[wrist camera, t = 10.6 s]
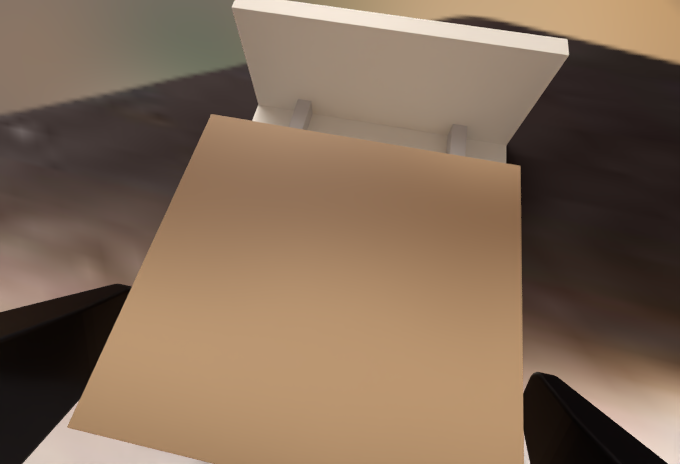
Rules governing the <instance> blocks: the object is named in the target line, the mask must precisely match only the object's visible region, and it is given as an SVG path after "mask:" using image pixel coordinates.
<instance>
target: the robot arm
mask: <svg viewBox="0 0 680 464" xmlns="http://www.w3.org/2000/svg"><path fill="white" fill-rule="evenodd" d="M131 288H132V287H131V286H127V285H122V284H113V285H109V286H105V287H101V288H97V289H92V290H88V291H84V292H80V293H76V294H72V295H68V296H64V297H60V298H56V299H52V300H48V301H44V302H40V303H36V304H32V305H28V306H24V307H20V308H16V309H12V310H8V311H4V312H0V464H22V463H23V462H24V461H25V460H26V459H27V458H28V457H29V456H30V455H31V453H32V452H33V451H34V450H35V449H36V448H37V447H38V446H39V444H40V443H41V442H42V441H43V440H44V439H45V438H46V437H47V435H48V434H49V433H50V432H51V431H52V430H53V429H54V428H55V427H56V425H57V424H58V423H59V422H60V421H61V420H62V419H63V418H64V416H65V415H66V414H67V413H68V412H69V411H70V410H71V409H72V407H73V406H74V405H75V404H76V403H77V402H78V401H79V400H80V398H81V396H82V394H83V392H84V390H85V387H86V385H87V383H88V381H89V379H90V377H91V374H92V372H93V370H94V368H95V366H96V364H97V361H98V359H99V357H100V355H101V353H102V351H103V348H104V346H105V344H106V342H107V340H108V338H109V335H110V333H111V331H112V329H113V327H114V325H115V322H116V320H117V318H118V316H119V314H120V312H121V309H122V307H123V305H124V303H125V301H126V299H127V296H128V294H129V292H130V290H131ZM523 431H524V436H525V440H526V445H527V450H528V455H529V460H530V464H668V463H666V462H665V461H664V460H663V459H661V458H660V457H659V456H657V455H656V454H655V453H654V452H652V451H651V450H650V449H649V448H647V447H646V446H645V445H643V444H642V443H641V442H640V441H638V440H637V439H636V438H635V437H633V436H632V435H631V434H629V433H628V432H627V431H626V430H624V429H623V428H622V427H621V426H619V425H618V424H617V423H615V422H614V421H613V420H612V419H610V418H609V417H608V416H607V415H605V414H604V413H603V412H601V411H600V410H599V409H598V408H596V407H595V406H594V405H593V404H591V403H590V402H589V401H587V400H586V399H585V398H584V397H582V396H581V395H580V394H579V393H577V392H576V391H575V390H573V389H572V388H571V387H570V386H568V385H567V384H566V383H564V382H563V381H562V380H561V379H559V378H558V377H557V376H554V375H550V374H545V373H540V372H535V373H533V374H532V375H531V377H530V379H529V382H528V384H527V386H526V388H525V391H524V393H523Z"/></svg>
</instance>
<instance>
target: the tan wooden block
mask: <svg viewBox="0 0 680 464" xmlns="http://www.w3.org/2000/svg"><path fill="white" fill-rule="evenodd" d="M67 427H68V428H72V429H76V430H80V431H84V432H88V433H92V434H96V435H100V436H104V437H108V438H112V439H116V440H120V441H124V442H128V443H132V444H136V445H140V446H144V447H148V448H152V449H157V450H161V451H165V452H169V453H173V454H177V455H181V456H185V457H189V458H193V459H197V460H201V461H205V462H209V463H213V464H524V435H523V349H522V262H521V175H520V166H518V165H512V164H506V163H500V162H495V161H489V160H483V159H477V158H471V157H465V156H459V155H453V154H447V153H441V152H435V151H429V150H423V149H417V148H411V147H405V146H399V145H393V144H387V143H381V142H375V141H369V140H363V139H357V138H351V137H345V136H339V135H333V134H327V133H321V132H315V131H309V130H303V129H297V128H291V127H285V126H279V125H273V124H267V123H261V122H255V121H249V120H243V119H237V118H231V117H225V116H219V115H213V114H211V116H210V118H209V121H208V123H207V125H206V127H205V129H204V132H203V134H202V136H201V138H200V140H199V142H198V145H197V147H196V149H195V151H194V153H193V155H192V158H191V160H190V162H189V164H188V166H187V168H186V171H185V173H184V175H183V177H182V179H181V181H180V184H179V186H178V188H177V190H176V192H175V194H174V197H173V199H172V201H171V203H170V205H169V207H168V210H167V212H166V214H165V216H164V218H163V220H162V223H161V225H160V227H159V229H158V231H157V233H156V236H155V238H154V240H153V242H152V244H151V246H150V249H149V251H148V253H147V255H146V257H145V259H144V262H143V264H142V266H141V268H140V270H139V272H138V275H137V277H136V279H135V281H134V283H133V286H132V288H131V290H130V292H129V294H128V296H127V299H126V301H125V303H124V305H123V307H122V309H121V312H120V314H119V316H118V318H117V320H116V322H115V325H114V327H113V329H112V331H111V333H110V335H109V338H108V340H107V342H106V344H105V346H104V348H103V351H102V353H101V355H100V357H99V359H98V361H97V364H96V366H95V368H94V370H93V372H92V374H91V377H90V379H89V381H88V383H87V385H86V387H85V390H84V392H83V394H82V396H81V398H80V400H79V403H78V405H77V407H76V409H75V411H74V413H73V416H72V418H71V420H70V422H69V424H68V426H67Z"/></svg>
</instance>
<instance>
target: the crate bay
mask: <svg viewBox="0 0 680 464" xmlns="http://www.w3.org/2000/svg"><path fill="white" fill-rule="evenodd" d="M232 11H233V14H234V18H235V21H236V25H237V29H238V32H239V36H240V40H241V43H242V47H243V50H244V53H245V58H246V61H247V65H248V68H249V72H250V76H251V79H252V83H253V86H254V90H255V94H256V97H257V101H258V104H259V105H258V107H257V110H256V113H255V115H254V118H253V120H252V121H255V122H261V123H267V124H273V125H279V126H285V127H291V128H297V129H303V130H309V131H315V132H321V133H327V134H333V135H339V136H345V137H351V138H357V139H363V140H369V141H375V142H381V143H387V144H393V145H399V146H405V147H411V148H417V149H423V150H429V151H435V152H441V153H447V154H453V155H459V156H465V157H471V158H477V159H483V160H489V161H495V162H500V163H506V145H507V144H508V142H509V141H510V139H511V138H512V136H513V135H514V133H515V132H516V131H517V129H518V128H519V126H520V125H521V123H522V122H523V120H524V119H525V118H526V116H527V115H528V113H529V112H530V110H531V109H532V108H533V106H534V105H535V103H536V102H537V100H538V99H539V97H540V96H541V95H542V93H543V92H544V90H545V89H546V87H547V86H548V84H549V83H550V82H551V80H552V79H553V77H554V76H555V74H556V73H557V72H558V70H559V69H560V67H561V66H562V64H563V63H564V61H565V60H566V59H567V57H568V56H569V51H568V41H567V39H561V38H554V37H546V36H539V35H532V34H525V33H518V32H510V31H503V30H496V29H489V28H482V27H474V26H467V25H460V24H453V23H446V22H438V21H431V20H424V19H417V18H410V17H402V16H395V15H388V14H381V13H373V12H366V11H359V10H352V9H345V8H337V7H330V6H323V5H316V4H309V3H302V2H294V1H287V0H235V1H234V3H233V5H232Z"/></svg>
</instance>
